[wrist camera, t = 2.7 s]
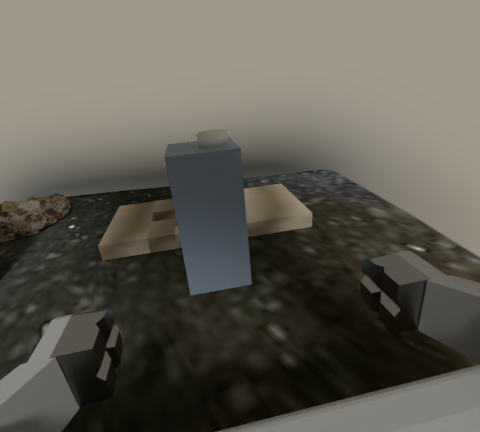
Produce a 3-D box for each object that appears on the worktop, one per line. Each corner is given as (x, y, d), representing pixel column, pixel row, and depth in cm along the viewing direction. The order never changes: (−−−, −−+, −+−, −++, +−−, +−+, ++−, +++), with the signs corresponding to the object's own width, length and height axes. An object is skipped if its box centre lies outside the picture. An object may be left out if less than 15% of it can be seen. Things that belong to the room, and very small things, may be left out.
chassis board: (102, 260, 27) (97, 246, 26) (122, 217, 36) (119, 206, 35) (312, 226, 29) (312, 212, 29) (281, 194, 38) (280, 183, 38)
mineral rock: (-3, 232, 29) (-50, 205, 32) (6, 266, 32) (-39, 238, 34) (89, 198, 38) (47, 178, 41) (91, 226, 40) (51, 206, 43)
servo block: (190, 295, 21) (162, 143, 17) (189, 262, 25) (165, 133, 21) (251, 284, 22) (239, 134, 17) (240, 253, 26) (228, 126, 21)
